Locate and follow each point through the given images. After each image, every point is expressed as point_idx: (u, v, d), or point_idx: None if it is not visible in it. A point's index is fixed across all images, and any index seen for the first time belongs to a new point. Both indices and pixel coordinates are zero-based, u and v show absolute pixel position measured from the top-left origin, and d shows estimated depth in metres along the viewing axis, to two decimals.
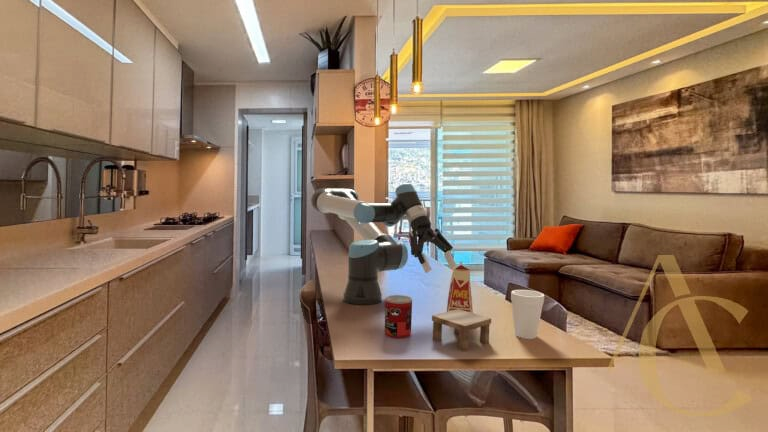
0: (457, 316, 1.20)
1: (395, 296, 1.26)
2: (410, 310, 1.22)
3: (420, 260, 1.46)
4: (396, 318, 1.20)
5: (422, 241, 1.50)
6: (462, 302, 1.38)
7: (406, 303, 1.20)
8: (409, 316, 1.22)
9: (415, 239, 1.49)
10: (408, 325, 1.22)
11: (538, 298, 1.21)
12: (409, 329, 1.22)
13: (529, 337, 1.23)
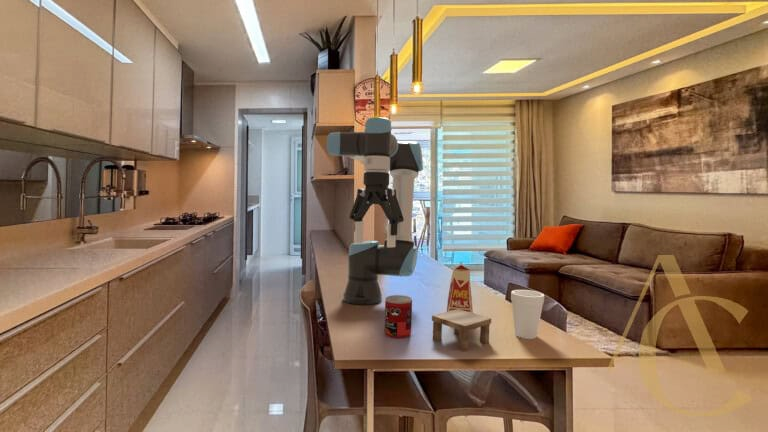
0: (457, 316, 1.20)
1: (395, 296, 1.26)
2: (410, 310, 1.22)
3: None
4: (396, 318, 1.20)
5: (362, 206, 1.23)
6: (462, 302, 1.38)
7: (406, 303, 1.20)
8: (409, 316, 1.22)
9: (355, 202, 1.25)
10: (408, 325, 1.22)
11: (538, 298, 1.21)
12: (409, 329, 1.22)
13: (529, 337, 1.23)
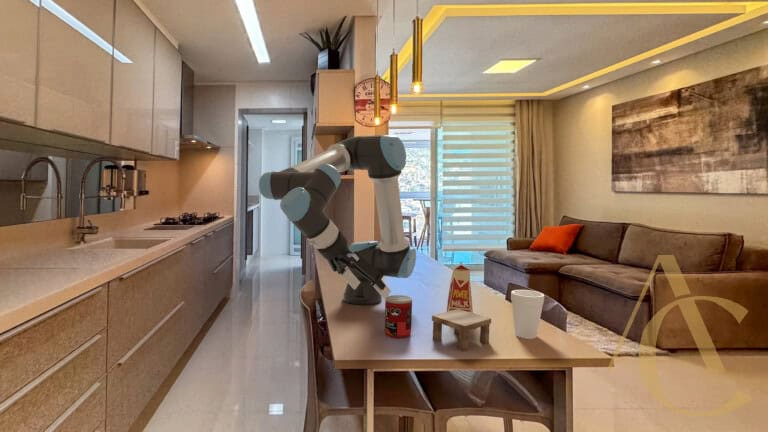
0: (457, 316, 1.20)
1: (395, 296, 1.26)
2: (410, 310, 1.22)
3: None
4: (396, 318, 1.20)
5: (337, 265, 1.14)
6: (461, 302, 1.38)
7: (406, 303, 1.20)
8: (409, 316, 1.22)
9: (329, 261, 1.16)
10: (408, 325, 1.22)
11: (538, 298, 1.21)
12: (409, 329, 1.22)
13: (529, 337, 1.23)
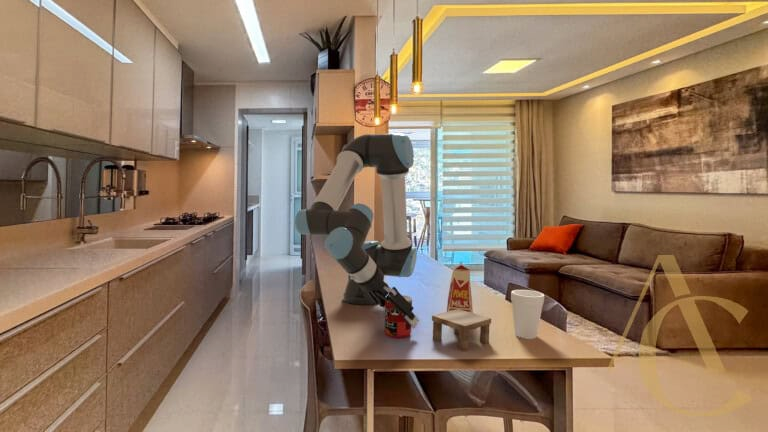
0: (457, 316, 1.20)
1: None
2: None
3: None
4: (396, 318, 1.20)
5: (376, 297, 1.22)
6: (462, 302, 1.38)
7: None
8: None
9: (368, 294, 1.24)
10: (408, 325, 1.22)
11: (538, 298, 1.21)
12: (409, 329, 1.22)
13: (529, 337, 1.23)
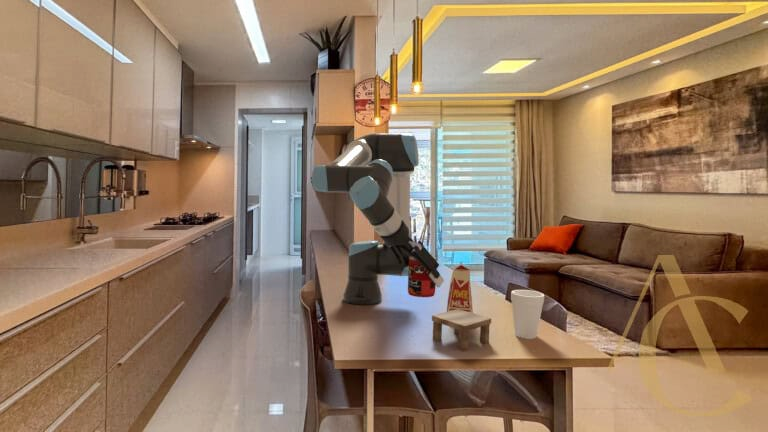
0: (457, 316, 1.20)
1: None
2: None
3: None
4: (420, 277, 1.16)
5: (400, 255, 1.19)
6: (462, 302, 1.38)
7: None
8: None
9: (392, 252, 1.21)
10: (432, 284, 1.18)
11: (538, 298, 1.21)
12: (433, 288, 1.18)
13: (529, 337, 1.23)
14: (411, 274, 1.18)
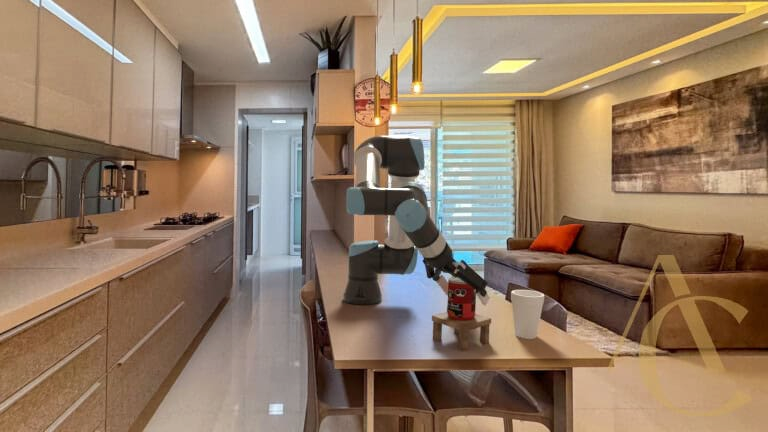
0: None
1: (457, 277, 1.22)
2: None
3: None
4: (461, 300, 1.16)
5: (436, 272, 1.18)
6: None
7: None
8: (474, 297, 1.17)
9: (426, 269, 1.20)
10: (473, 306, 1.17)
11: (538, 298, 1.21)
12: (474, 311, 1.18)
13: (529, 337, 1.23)
14: (452, 297, 1.17)
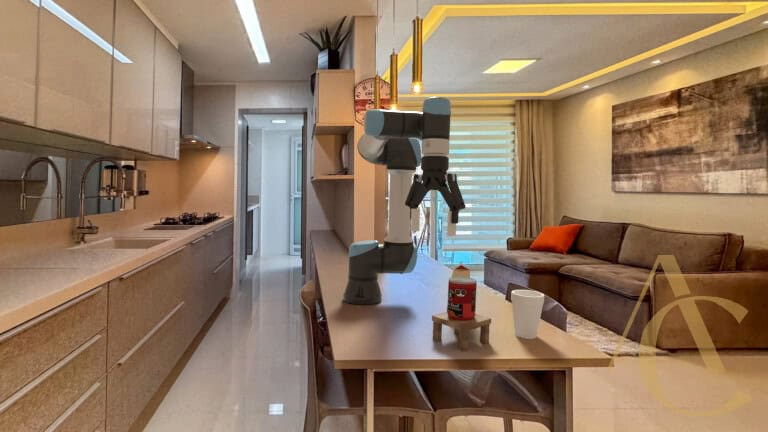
0: None
1: (457, 277, 1.22)
2: (475, 291, 1.18)
3: None
4: (461, 300, 1.16)
5: (419, 192, 1.16)
6: None
7: (472, 284, 1.16)
8: (474, 297, 1.17)
9: (411, 188, 1.18)
10: (473, 307, 1.17)
11: (538, 298, 1.21)
12: (474, 311, 1.18)
13: (529, 337, 1.23)
14: (452, 297, 1.17)
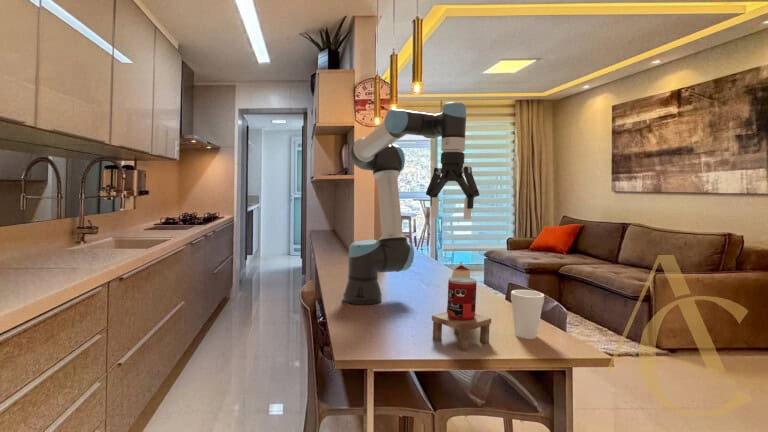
0: None
1: (457, 278, 1.22)
2: (475, 291, 1.18)
3: None
4: (461, 300, 1.16)
5: (438, 183, 1.36)
6: None
7: (471, 284, 1.16)
8: (474, 298, 1.17)
9: (432, 180, 1.38)
10: (473, 307, 1.17)
11: (538, 298, 1.21)
12: (474, 311, 1.18)
13: (529, 337, 1.23)
14: (452, 297, 1.17)
